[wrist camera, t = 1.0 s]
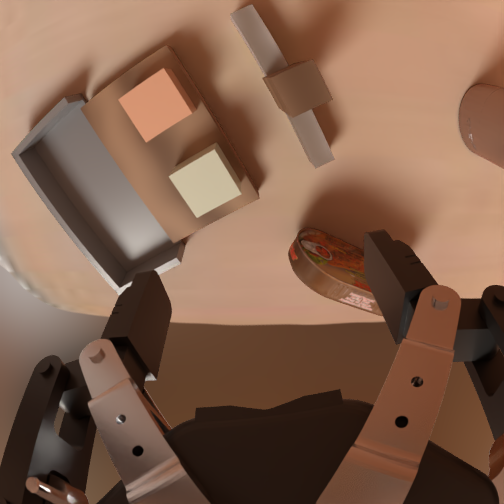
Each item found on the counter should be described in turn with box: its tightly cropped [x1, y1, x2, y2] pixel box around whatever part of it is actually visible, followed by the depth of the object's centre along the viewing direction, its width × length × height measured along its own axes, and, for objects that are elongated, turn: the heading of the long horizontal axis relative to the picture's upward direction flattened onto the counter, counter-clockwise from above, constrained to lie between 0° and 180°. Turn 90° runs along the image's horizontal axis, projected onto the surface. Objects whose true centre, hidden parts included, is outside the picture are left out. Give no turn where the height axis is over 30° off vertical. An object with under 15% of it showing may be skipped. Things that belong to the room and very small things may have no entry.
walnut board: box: [80, 45, 259, 243], centre depth 28 cm, size 10×17×2 cm, turn 28°
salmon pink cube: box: [118, 68, 197, 142], centre depth 23 cm, size 4×4×3 cm
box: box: [11, 94, 185, 295], centre depth 29 cm, size 9×20×4 cm, turn 28°
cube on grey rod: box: [230, 4, 335, 168], centre depth 22 cm, size 3×16×10 cm, turn 28°
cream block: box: [169, 142, 242, 218], centre depth 27 cm, size 4×4×3 cm
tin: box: [288, 228, 383, 316], centre depth 32 cm, size 15×3×8 cm, turn 64°
